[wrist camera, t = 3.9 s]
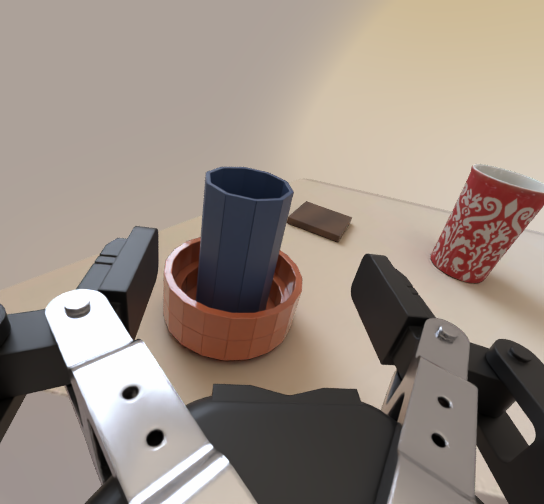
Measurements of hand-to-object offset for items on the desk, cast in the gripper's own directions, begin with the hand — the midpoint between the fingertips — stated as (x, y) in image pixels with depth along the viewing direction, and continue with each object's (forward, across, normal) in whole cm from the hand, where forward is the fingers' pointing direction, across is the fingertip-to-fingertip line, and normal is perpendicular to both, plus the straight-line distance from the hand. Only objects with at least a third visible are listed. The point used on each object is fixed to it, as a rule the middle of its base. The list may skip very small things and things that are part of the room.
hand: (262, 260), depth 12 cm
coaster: (+32, -13, +14) cm, 37 cm away
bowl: (+11, 0, +14) cm, 17 cm away
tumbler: (+11, 0, +13) cm, 17 cm away
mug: (+25, -32, +14) cm, 43 cm away
